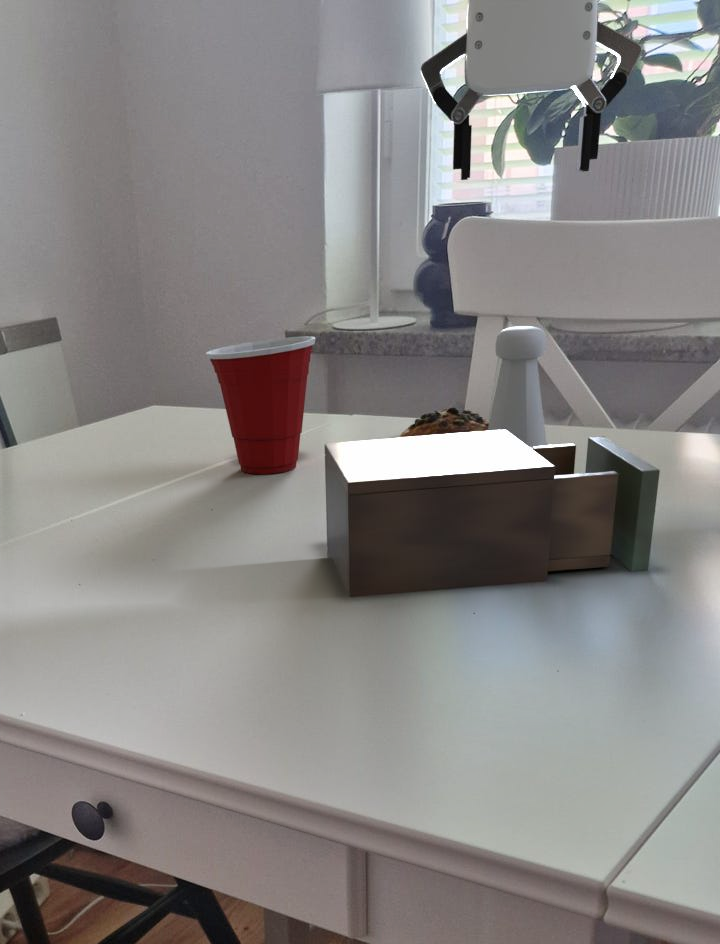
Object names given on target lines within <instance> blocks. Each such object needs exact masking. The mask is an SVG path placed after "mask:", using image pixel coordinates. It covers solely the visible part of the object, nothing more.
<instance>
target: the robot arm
mask: <svg viewBox="0 0 720 944" xmlns="http://www.w3.org/2000/svg"><path fill="white" fill-rule="evenodd" d="M598 4H599V0H468V3H467V14H466V15H467V16H466V30H465V31H466V32H465V33H464V34H463V35H461V36H460V37H459V38H457V39H456V40H454V41H452V42H451V43H450V44H448V45H447V46H446V47H444V48H442V50H440V51H438V52H437V53H435V54H434V55H433V56H431V57H430V58H428V59H427V60H426V61H424V62H423V63H422V64H421V66H420V74H421V76H422V78H423V80H424V82H425V85H426V88H427V89H428V92H429V95H430V96H431V98H432V101H433V103H434V104H435V105H436V107H438V109H439V110H440V111H441V112H442V113H443V114H444V115H445V117H447V118H448V120H449V121H450V122H451V123H452V124H453V145H452V146H453V149H452V150H453V151H452V170H460V180H461V181H467V180H469V179H470V178H471V165H472V164H471V163H472V162H471V161H472V160H471V157H472V129H473V128H472V127H473V126H472V124H470V113H471V112H472V110H473V109H474V108H475V106H476V104H477V103H478V102H479V101H480V99H481V98H482V96H484V97H491V96H492V97H493V96H506V95H518V94H519V95H520V94H531V93H542V92H554V91H563V90H569V89H572V90H573V91H574V93H575V95H576V96H577V97H578V99H579V100H580V101H581V103H582V105H583V114H582V116H580V117H579V125H578V126H579V128H578V139H577V141H578V142H577V155H576V170H578V172H582V173H583V172H589V171H590V163H591V160H597V159H598V155H599V146H600V145H599V144H600V134H601V132H600V131H601V122H602V121H601V119H602V112H604V111H605V109H606V108H607V107H608V106H609V104H611V102H613V100H614V99H615V98H616V97H617V96H618V94H619V93H620V92H621V91H622V90H623V89H624V88H625V86H626V85H627V82H628V80H629V78H630V76H631V75H632V73H633V71H634V69H635V67H636V65H637V63H638V61H639V59H640V57H641V55H642V52H643V47H642V44H640V43H639V42H637V41H635V40H633V39H632V38H630V37H628V36H626V35H624V34H622V33H620V32H619V31H617V30H616V29H613V28H612V27H609V26H608V25H606V24H604V23H602V22H600V21H599V20H598V13H599V12H598V9H599V7H598V6H599V5H598ZM597 46H599V47H600V48H603V49H604V50H606V51H608V52H610V53H611V54H613V55H615V56H616V57H617V64H616V66H615V68H614V71H613V73H612V74H611V76H610V77H609V78H608V79H607V80H606V82H605V83H604V84H603V85H602V87H600V88H599V87H598V85H597V84H596V83H595V81H594V80H593V79H592V76H593V73H594V71H595V70H594V69H595V64H596V55H597ZM463 57H464V84H465V87H466V89H467V90H466V91H465V92H464V94H463V95H462V96H461V98H460V100H459V101H457V100H456V99H455V98H454V97H453V96H452V94H451V93H450V92H449V91H448V90H447V89H446V87H445V84H444V81H443V79H442V77H441V76H442V74H443V73H442V72H443V71H444V70H445V69H447V68H448V67H450V66H452V65H453V64H454V63H455V62H458V60H460V59H461V58H463Z"/></svg>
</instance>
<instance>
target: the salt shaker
mask: <svg viewBox="0 0 720 944" xmlns="http://www.w3.org/2000/svg"><path fill="white" fill-rule="evenodd" d="M546 337H547V336H546V332H545V330H543V329H542V328H540V327H536V326H532V325H519V326H517V325H516V326H510V327H506V328H504V329H502V330H501V331H500V332H499V333H498V335H496V340H495V355H496V357H498V358H499V359H501V363H500V367H499V371H498V377H497V382H496V386H495V392H494V396H493V402H492V407H491V412H490V417H489V426H488V431H492V430H505V429H506V430H507V431H509V432H510V433H511V434H513V435H514V436H515V437H517V438H518V439H519V440H521V441H522V442H523V443H525V444H526V445H527V446H529V447H533V446H546V445H548V442H547V435H546V433H547V432H546V425H545V418H544V411H543V410H544V409H543V402H542V393H541V383H540V374H539V365H538V359H539V357H541V356H543V355H544V353H545V350H546V345H547V338H546Z"/></svg>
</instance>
